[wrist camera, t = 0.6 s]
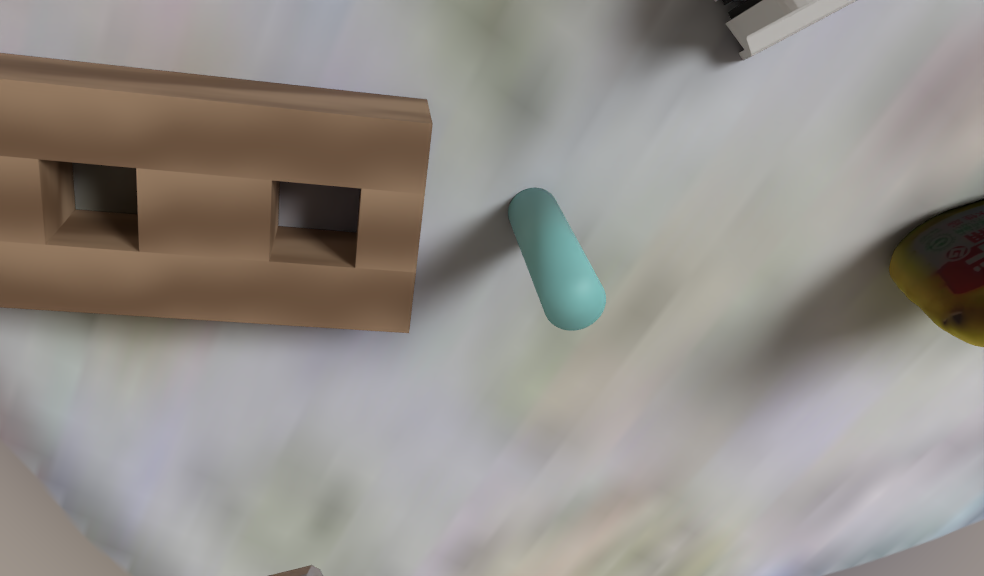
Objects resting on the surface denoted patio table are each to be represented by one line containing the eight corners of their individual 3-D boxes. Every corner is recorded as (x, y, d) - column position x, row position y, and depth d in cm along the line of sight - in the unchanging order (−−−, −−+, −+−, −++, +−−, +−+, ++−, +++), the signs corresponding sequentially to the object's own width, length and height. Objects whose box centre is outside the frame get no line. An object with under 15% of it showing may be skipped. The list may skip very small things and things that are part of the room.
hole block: (-3, 52, 44) (-45, 74, 40) (426, 99, 48) (432, 123, 44) (18, 266, 49) (-17, 306, 45) (405, 293, 53) (408, 333, 49)
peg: (512, 185, 51) (549, 271, 40) (561, 190, 52) (611, 276, 41) (504, 232, 52) (538, 328, 42) (553, 236, 53) (599, 332, 42)
